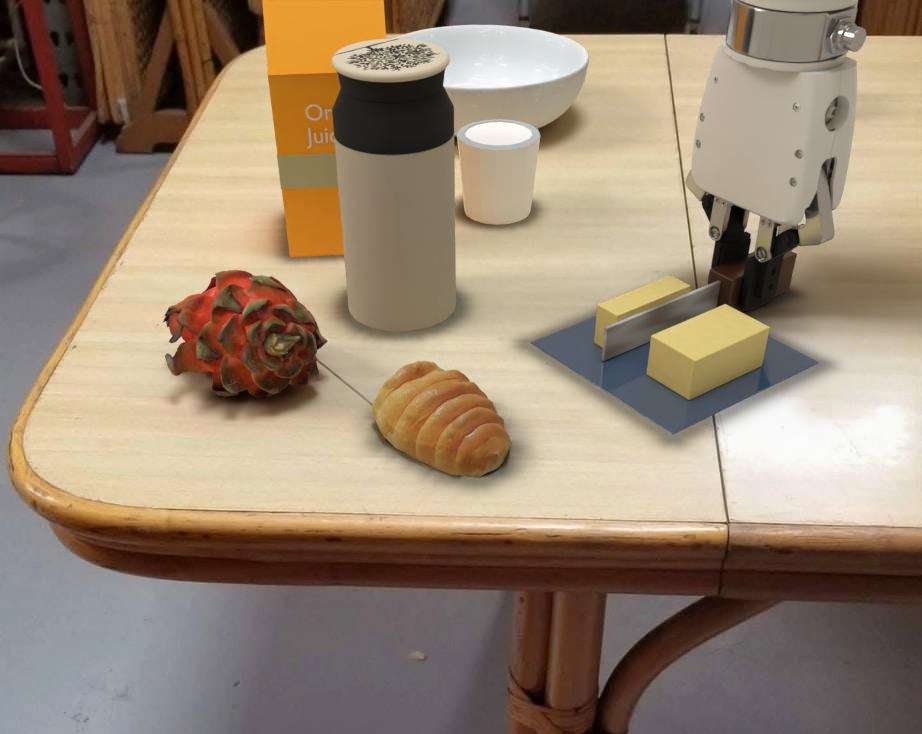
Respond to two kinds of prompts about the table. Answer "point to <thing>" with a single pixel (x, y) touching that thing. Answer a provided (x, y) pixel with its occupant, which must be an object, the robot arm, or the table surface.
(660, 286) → the butter slice
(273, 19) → the orange juice
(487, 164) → the cup of milk
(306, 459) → the table surface
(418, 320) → the travel mug
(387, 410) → the pastry
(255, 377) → the dragon fruit
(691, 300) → the knife
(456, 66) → the serving bowl
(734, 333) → the butter block
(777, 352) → the butter dish
